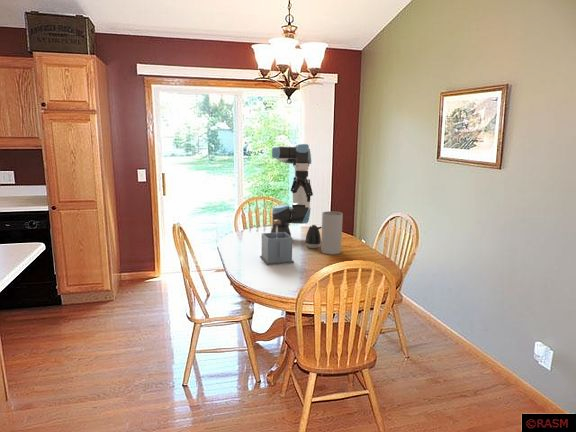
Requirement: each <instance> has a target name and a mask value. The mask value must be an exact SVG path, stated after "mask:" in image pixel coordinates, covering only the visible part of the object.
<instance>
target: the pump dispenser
mask: <svg viewBox="0 0 576 432" xmlns="http://www.w3.org/2000/svg"><path fill="white" fill-rule="evenodd" d="M320 229H321V230H322V226H317V225H316V224H312V225H310V226H309V227H308V230H307V232H306V235H305V244H306V247H308V248H309V249H317V248H320V247H321V242H322V235H321V232H320Z"/></svg>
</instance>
